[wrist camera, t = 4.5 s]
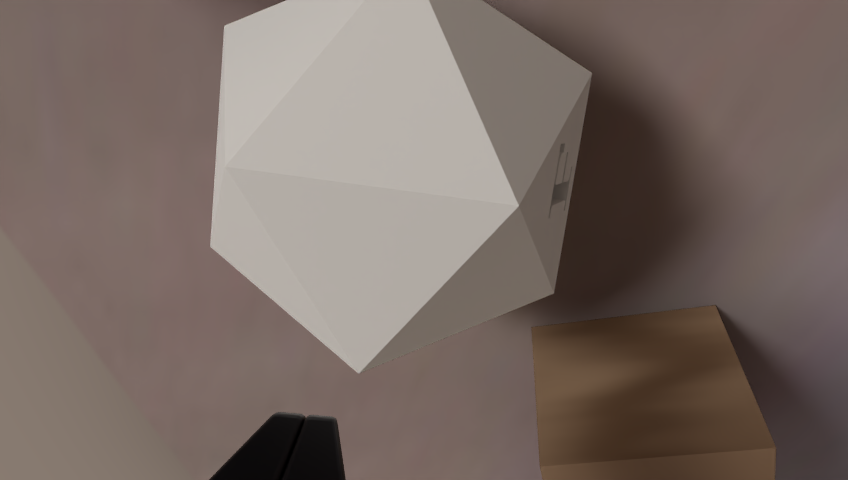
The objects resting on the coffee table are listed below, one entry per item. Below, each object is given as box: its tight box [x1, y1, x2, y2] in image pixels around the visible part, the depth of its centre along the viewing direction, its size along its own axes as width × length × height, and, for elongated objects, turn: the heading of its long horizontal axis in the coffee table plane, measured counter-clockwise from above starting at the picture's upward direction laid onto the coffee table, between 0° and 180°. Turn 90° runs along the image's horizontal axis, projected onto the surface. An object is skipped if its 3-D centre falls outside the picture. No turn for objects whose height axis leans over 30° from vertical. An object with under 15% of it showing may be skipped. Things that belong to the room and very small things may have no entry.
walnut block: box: [532, 305, 776, 480], centre depth 22 cm, size 6×6×6 cm
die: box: [210, 0, 592, 373], centre depth 16 cm, size 8×9×10 cm
